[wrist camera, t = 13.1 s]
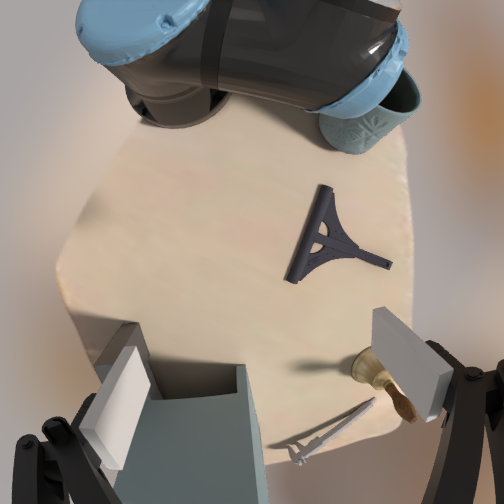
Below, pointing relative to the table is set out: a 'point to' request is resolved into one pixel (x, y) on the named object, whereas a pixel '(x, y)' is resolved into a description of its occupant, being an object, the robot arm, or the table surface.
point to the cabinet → (196, 452)
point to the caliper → (327, 435)
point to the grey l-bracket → (121, 339)
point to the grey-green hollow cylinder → (373, 118)
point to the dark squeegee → (327, 241)
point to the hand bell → (382, 382)
